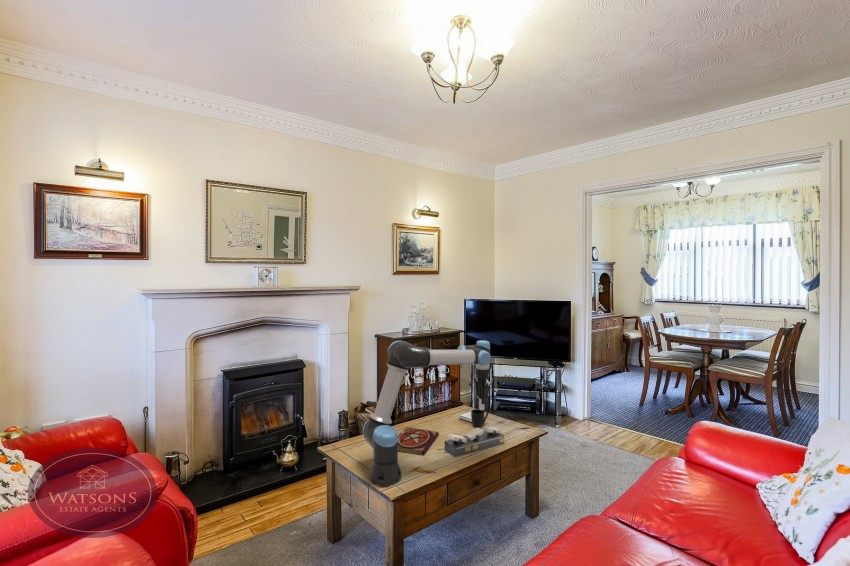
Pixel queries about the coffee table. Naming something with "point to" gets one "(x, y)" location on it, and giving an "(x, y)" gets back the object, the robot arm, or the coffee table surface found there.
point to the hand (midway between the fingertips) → (481, 409)
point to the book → (416, 440)
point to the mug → (478, 417)
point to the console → (474, 444)
